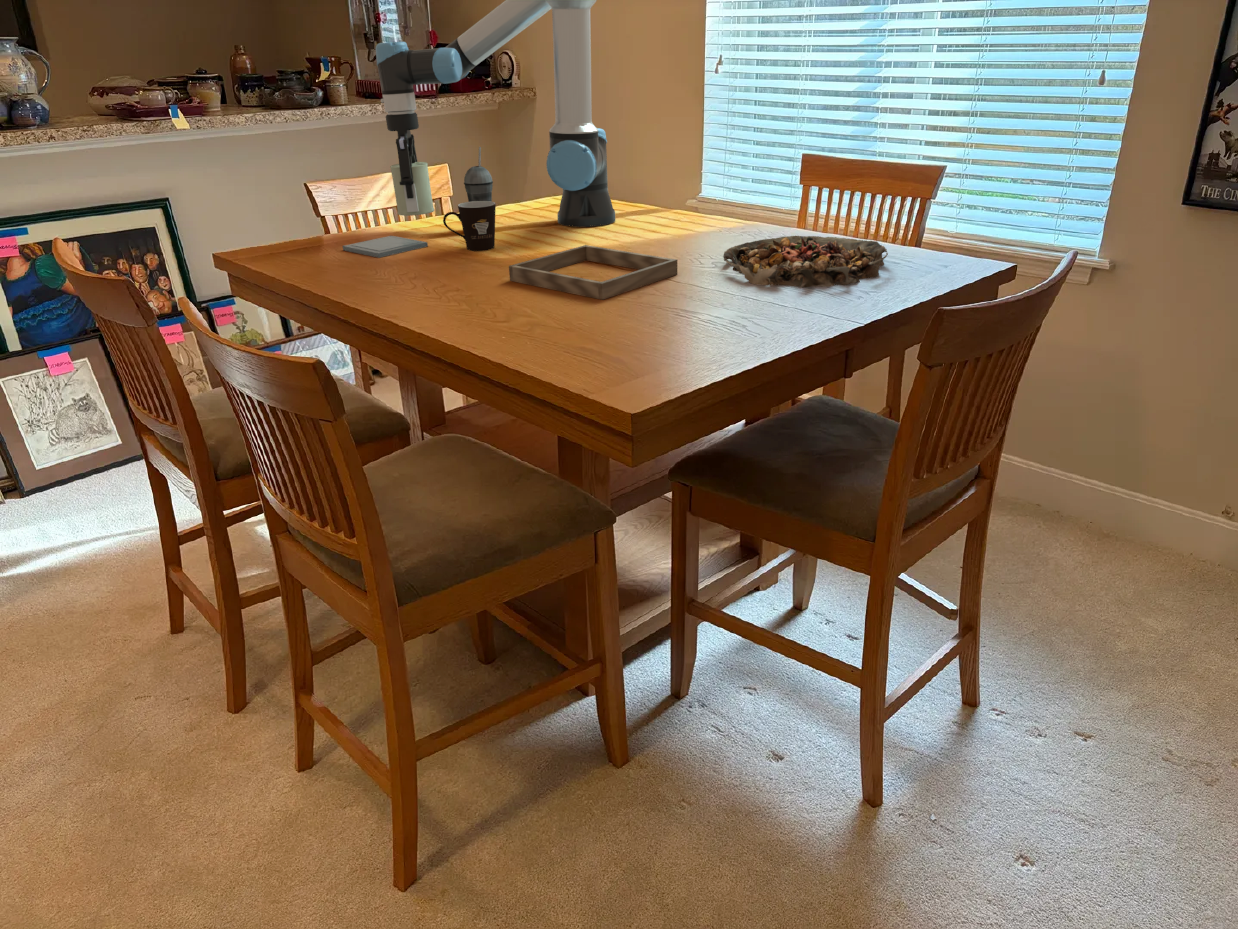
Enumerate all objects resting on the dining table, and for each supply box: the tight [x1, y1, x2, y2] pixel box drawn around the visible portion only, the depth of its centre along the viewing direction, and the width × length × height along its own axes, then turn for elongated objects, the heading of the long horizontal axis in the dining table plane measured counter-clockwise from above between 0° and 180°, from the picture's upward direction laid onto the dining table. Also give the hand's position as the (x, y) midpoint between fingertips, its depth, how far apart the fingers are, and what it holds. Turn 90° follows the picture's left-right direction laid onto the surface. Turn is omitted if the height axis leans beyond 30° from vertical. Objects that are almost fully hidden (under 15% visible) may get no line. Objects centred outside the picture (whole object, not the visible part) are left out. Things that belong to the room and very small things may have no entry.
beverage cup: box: [463, 146, 494, 202], centre depth 226 cm, size 7×7×20 cm
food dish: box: [722, 235, 889, 289], centre depth 184 cm, size 35×33×8 cm
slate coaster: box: [342, 235, 428, 259], centre depth 213 cm, size 14×14×1 cm
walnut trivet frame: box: [508, 244, 678, 300], centre depth 182 cm, size 25×23×3 cm
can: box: [389, 161, 435, 217], centre depth 224 cm, size 9×9×12 cm
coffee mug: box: [442, 201, 496, 252], centre depth 208 cm, size 12×9×10 cm
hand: (415, 208), depth 226 cm, fingers closed on can, 9 cm apart
